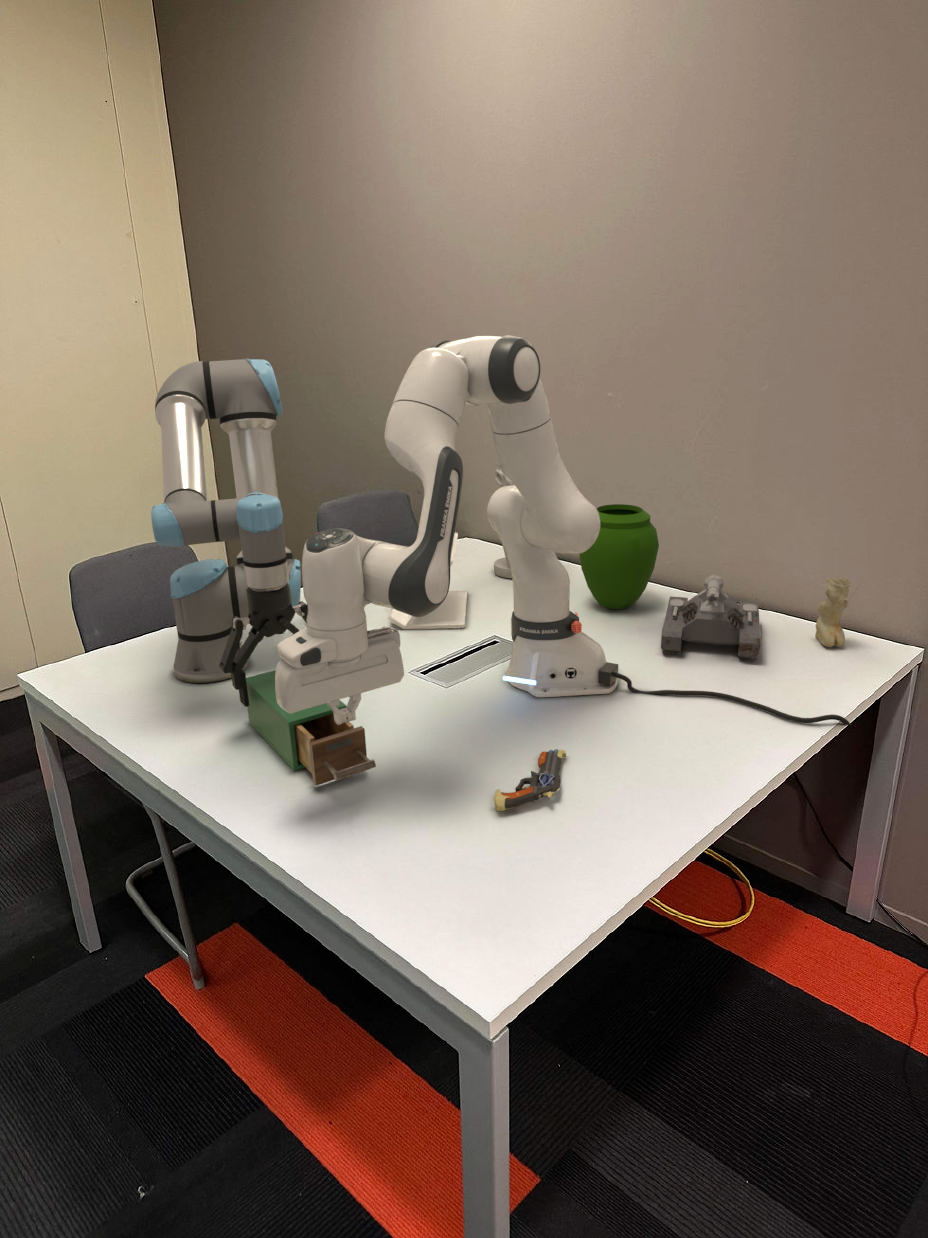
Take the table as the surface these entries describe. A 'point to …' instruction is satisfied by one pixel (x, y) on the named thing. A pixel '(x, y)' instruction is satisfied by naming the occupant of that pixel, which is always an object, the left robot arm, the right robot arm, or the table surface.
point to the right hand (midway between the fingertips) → (345, 721)
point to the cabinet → (278, 717)
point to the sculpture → (832, 613)
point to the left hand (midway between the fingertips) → (280, 693)
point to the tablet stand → (437, 610)
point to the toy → (712, 621)
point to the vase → (620, 556)
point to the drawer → (331, 749)
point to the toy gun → (534, 782)
